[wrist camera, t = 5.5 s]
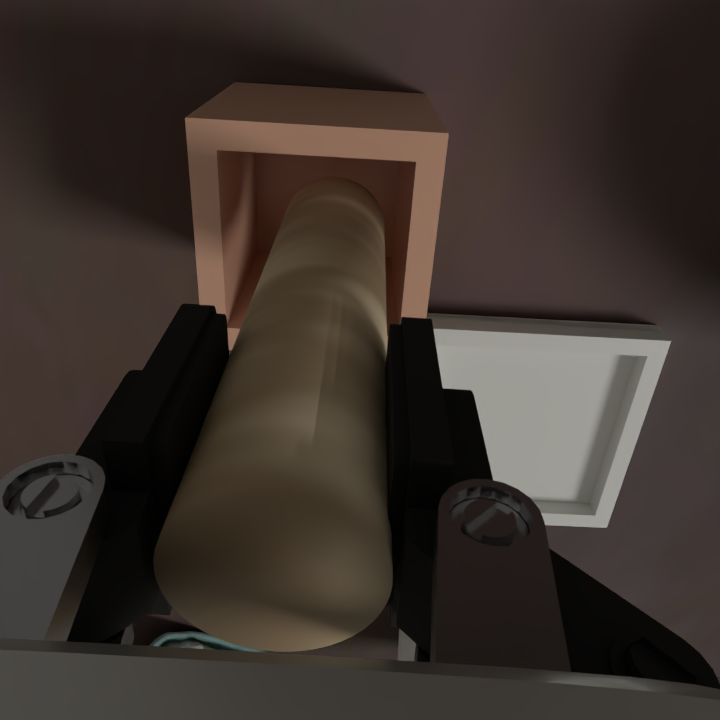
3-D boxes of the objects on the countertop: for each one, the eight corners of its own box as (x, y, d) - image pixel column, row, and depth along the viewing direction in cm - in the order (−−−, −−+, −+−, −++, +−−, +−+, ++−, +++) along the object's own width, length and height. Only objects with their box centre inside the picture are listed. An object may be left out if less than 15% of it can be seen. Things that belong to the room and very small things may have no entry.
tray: (657, 325, 29) (671, 341, 27) (597, 507, 34) (606, 527, 33) (413, 312, 28) (415, 327, 27) (393, 497, 34) (394, 518, 33)
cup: (425, 93, 24) (448, 133, 17) (407, 270, 27) (421, 359, 21) (235, 81, 24) (184, 117, 17) (242, 261, 27) (203, 348, 21)
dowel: (388, 179, 18) (404, 497, 7) (380, 275, 20) (383, 657, 9) (284, 173, 18) (139, 481, 7) (284, 269, 20) (166, 645, 9)
